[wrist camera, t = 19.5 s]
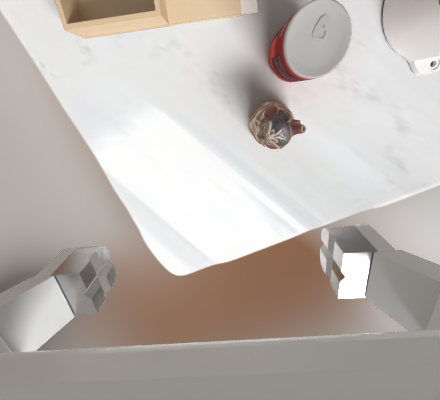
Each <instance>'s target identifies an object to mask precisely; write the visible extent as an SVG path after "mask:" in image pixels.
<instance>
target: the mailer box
mask: <svg viewBox="0 0 440 400" xmlns="http://www.w3.org/2000/svg"><path fill="white" fill-rule="evenodd" d="M55 2H56V5H57V8H58V11H59V14H60V17H61V21H62V24H63V27H64V30H66V31H68V32H71V33H73V34H76V35H78V36H81V37H83V38H92V37H99V36H106V35H113V34H119V33H126V32H133V31H140V30H146V29H153V28H160V27H167V26H173V25H180V24H187V23H194V22H200V21H207V20H214V19H221V18H227V17H234V16H241V15H247V14H254V13H258V2H257V0H55Z"/></svg>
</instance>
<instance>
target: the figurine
mask: <svg viewBox="0 0 440 400" xmlns="http://www.w3.org/2000/svg"><path fill="white" fill-rule="evenodd" d="M249 125H250V128H249V129H250V132H251V134H252V135H253V136H254V138H255V139H256V140H257V142H258V143H259V144H262V145H263V146H264V147H265V146H266V147H268V148H270V149H278V148H279V149H281V148H283V147H284V146H285V145H286V144H287V143H288V142H289V141H290V140H291V138H292V137H293V135H296V134H300V133H304V132H305V131H306V127H305V126H304V125H301V124H300V120H294V117H293V115H292V113H291V111H290V110H289V109H288V108H287V107H286V106H285V105H283V104H281V103H278V102H272V101H271V102H265V103H263V104H261V105H260V106H259V107H258V108H257V109H256V111H255V112H254V114H253V115H252V116H251V117H250V120H249Z"/></svg>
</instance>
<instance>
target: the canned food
mask: <svg viewBox="0 0 440 400" xmlns="http://www.w3.org/2000/svg"><path fill="white" fill-rule="evenodd" d="M350 40H351V22H350V17H349V15H348V13H347V11H346V9H345V8H344V7H343V5H341V4H340V3H339V2H338V1H336V0H312V1H310V2H308V3H307V4H305V5H304V6H302V7H301V8H300V9H299V10H298V11H297V12H296V13H295V14H294V15H293V16H292V17H291V18H290V19H289V21H288V22H287V23H286V24H285V25H284V26H283V27H282V29H281V30H280V31H279V32H278V33H277V35H276V36H275V38H274V40H273V42H272V45H271V48H270V64H271V67H272V70H273V72H274V73H275V74H276V76H277V77H278V78H280V79H281V80H284V81H287V82H296V81H303V80H311V79H316V78H319V77H322V76H324V75H326V74H328V73H330V72H331V71H332V70H333V69H335V68H336V67H337V66H338V65H339V63H340V62H341V61H342V59H343V58H344V56H345V54H346V52H347V50H348V47H349V44H350Z"/></svg>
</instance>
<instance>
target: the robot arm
mask: <svg viewBox="0 0 440 400" xmlns="http://www.w3.org/2000/svg"><path fill="white" fill-rule="evenodd" d="M383 28H384V33H385V36H386V39H387V41H388V43H389V44H390V46H391V47H392V49H393V50H394V51H395V52H396V53H398V54H399V55H401V56H402V57H404V58H405V59H406V60H407V61H408V63H409V65H410V67H411V69H412V71H413V72H414V74H415V75H417V76H422V75H426V74H429V73H432V72H435V71H438V70H440V0H385V2H384V8H383ZM431 62H433V64H432V66H430V64H431ZM321 239H322V241H323V243H324V245H323V246H322V247H321V248H320V260H321V265H322V268H323V270H324V272H325V274H326V275H328V276H329V277H331V282H330V283H331V285H332V287H333V289H334V291H335V293H336V295H337V296H338V298H358V297H359V298H360V297H365V299H366V300H368V301H369V302H371V303H372V304H373V305H375V306H376V307H377V308H379V309H380V310H381V311H383V312H384V313H385V314H387V315H388V316H390V317H391V318H392V319H394V320H395V321H396V322H398V323H399V324H400V325H402V326H403V327H405V328H406V329H407V330H409V331H405V332H385V333H368V334H350V335H334V336H333V335H332V336H315V337H314V336H312V337H293V338H275V339H256V340H255V339H254V340H235V341H216V342H198V343H181V344H180V343H179V344H161V345H142V346H124V347H108V348H107V347H106V348H87V349H68V350H50V351H36V350H37V349H38V348H39V347H40V346H42V345H43V344H44V343H45V342H46V341H47V340H48V339H50V338H51V337H52V336H53V335H54V334H55V333H56V332H57V331H59V330H60V329H61V328H62V327H63V326H64V325H66V324H67V323H68V322H69V321H70V320H71V319H72V318H74V316H75V315H85V314H97V313H98V312H99V310H100V308H101V306H102V305H103V303H104V301H105V300H106V296H105V293H107V292H108V291H109V290H111V289H112V287H113V285H114V283H115V278H116V271H115V267H114V265H113V264H112V263H111V262H110V261H109V260H108V259H109V256H110V254H109V251H108V249H107V248H106V247H104V246H97V247H80V248H68V249H64V250H62V251H61V252H60V253H59V254H58V255H57V256H56V257H55V258H54V259H53V260H52V261H51V262H50V263H49V264H48V265H47V266H46V267H45V268H44V269H43V270H42V271H41V272H40V273H39V274H38V275H37V276H36V277H32V278H30V279H27V280H26V281H24V282H22V283H20V284H18V285H16V286H14V287H12V288H10V289H8V290H6V291H5V292H3V293H1V294H0V400H440V265H438V264H436V263H433V262H430V261H428V260H425V259H423V258H420V257H418V256H415V255H412V254H410V253H407V252H405V251H402V250H395V249H394V248H393V247H392V246H391V245H390V244H389V243H388V242H387V241H386V240H385V239H384V238H383V237H382V236H381V235H379V234H378V233H377V232H376V231H375V230H374V229H373V228H372V227H371V226H370V225H368V224H360V225H352V226H344V227H334V228H324V229H323V230H322V233H321Z"/></svg>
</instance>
